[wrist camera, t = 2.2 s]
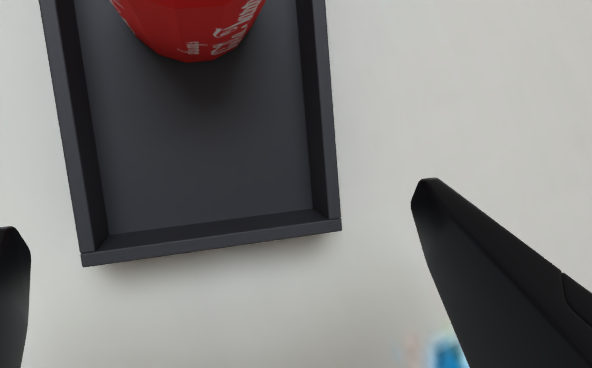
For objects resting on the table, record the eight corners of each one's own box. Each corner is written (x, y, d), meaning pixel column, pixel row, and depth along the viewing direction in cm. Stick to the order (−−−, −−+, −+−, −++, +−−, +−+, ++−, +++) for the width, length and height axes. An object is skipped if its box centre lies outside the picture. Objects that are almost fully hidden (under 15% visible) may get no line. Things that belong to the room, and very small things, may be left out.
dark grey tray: (322, 216, 24) (342, 231, 20) (99, 246, 22) (82, 268, 18) (296, -113, 21) (313, -157, 18) (43, -117, 19) (10, -167, 16)
